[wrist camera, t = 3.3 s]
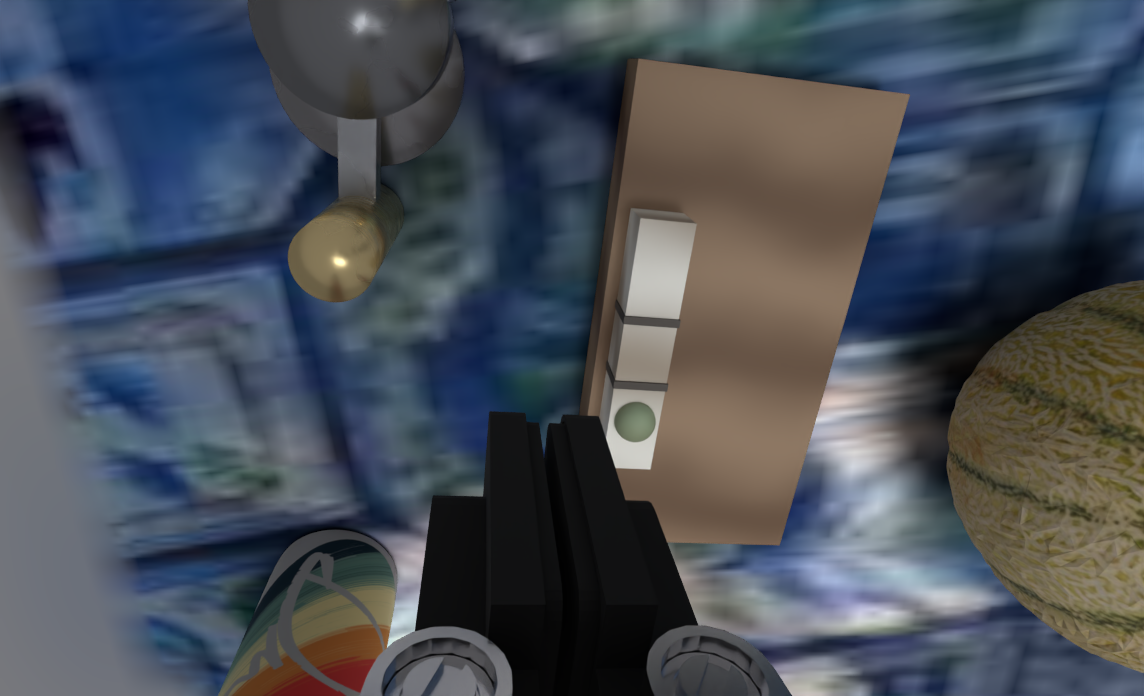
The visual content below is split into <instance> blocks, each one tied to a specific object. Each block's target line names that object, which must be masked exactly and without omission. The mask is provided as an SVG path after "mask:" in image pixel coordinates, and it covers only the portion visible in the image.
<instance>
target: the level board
mask: <svg viewBox="0 0 1144 696" xmlns="http://www.w3.org/2000/svg"><path fill="white" fill-rule="evenodd" d="M909 96H910V94H902V93H895V92H887V91H880V90H872V89H865V88H857V87H850V86H842V85H835V84H827V83H819V82H812V81H804V80H797V79H789V78H782V77H774V76H767V75H759V74H752V73H744V72H736V71H729V70H721V69H714V68H706V67H699V66H691V65H684V64H676V63H669V62H661V61H654V60H646V59H628V61H627V68H626V75H625V83H624V90H623V97H622V105H621V112H620V119H619V126H618V134H617V141H616V148H615V156H614V163H613V170H612V177H611V185H610V192H609V199H608V207H607V214H606V221H605V228H604V236H603V243H602V250H601V258H600V265H599V272H598V280H597V287H596V294H595V301H594V309H593V316H592V323H591V331H590V338H589V345H588V352H587V360H586V367H585V374H584V382H583V389H582V396H581V403H580V411H579V415H585V416H599V418H600V421H601V424H602V427H603V430H604V433H605V437H606V440H607V443H608V446H609V449H610V452H611V456H612V459H613V462H614V465H615V468H616V471H617V474H618V478H619V481H620V484H621V487H622V490H623V493H624V497H625V500H639V501H649V502H651V503H652V505H653V507H654V509H655V511H656V514H657V517H658V519H659V522H660V525H661V527H662V530H663V533H664V535H665V538H666V541H667V542H680V543H718V544H756V545H780V542H781V538H782V535H783V531H784V528H785V525H786V521H787V518H788V514H789V511H790V507H791V504H792V500H793V497H794V493H795V490H796V487H797V483H798V480H799V476H800V473H801V469H802V466H803V462H804V459H805V455H806V452H807V449H808V445H809V442H810V438H811V435H812V431H813V428H814V424H815V421H816V417H817V414H818V411H819V407H820V404H821V400H822V397H823V393H824V390H825V386H826V383H827V379H828V376H829V372H830V369H831V366H832V362H833V359H834V355H835V352H836V348H837V345H838V341H839V338H840V334H841V331H842V328H843V324H844V321H845V317H846V314H847V310H848V307H849V303H850V300H851V296H852V293H853V290H854V286H855V283H856V279H857V276H858V272H859V269H860V265H861V262H862V258H863V255H864V251H865V248H866V245H867V241H868V238H869V234H870V231H871V227H872V224H873V220H874V217H875V213H876V210H877V207H878V203H879V200H880V196H881V193H882V189H883V186H884V182H885V179H886V175H887V172H888V169H889V165H890V162H891V158H892V155H893V151H894V148H895V144H896V141H897V137H898V134H899V131H900V127H901V124H902V120H903V117H904V113H905V110H906V106H907V103H908V99H909Z"/></svg>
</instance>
